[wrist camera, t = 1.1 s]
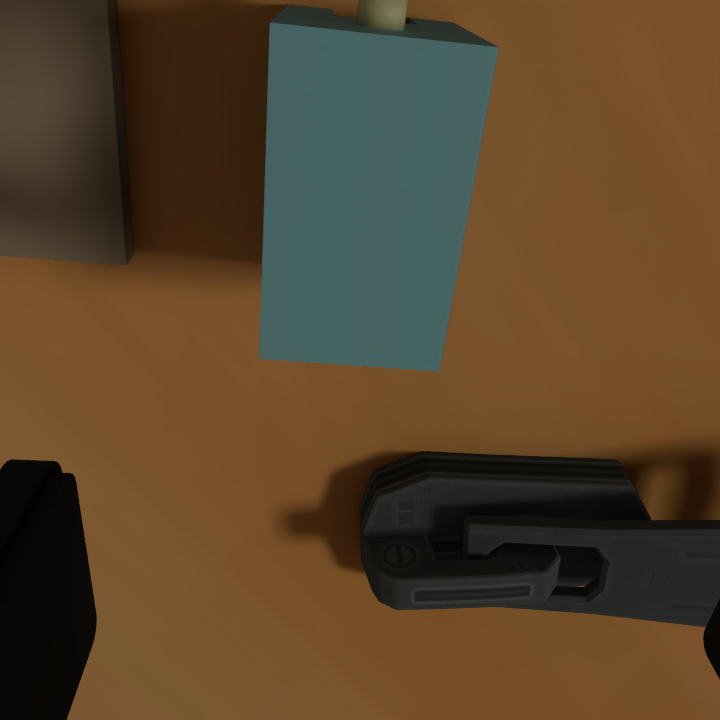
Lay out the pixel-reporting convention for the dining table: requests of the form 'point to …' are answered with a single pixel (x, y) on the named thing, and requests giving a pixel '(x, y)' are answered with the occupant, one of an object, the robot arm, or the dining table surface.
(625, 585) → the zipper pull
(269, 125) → the cabinet
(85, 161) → the board
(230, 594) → the dining table surface
